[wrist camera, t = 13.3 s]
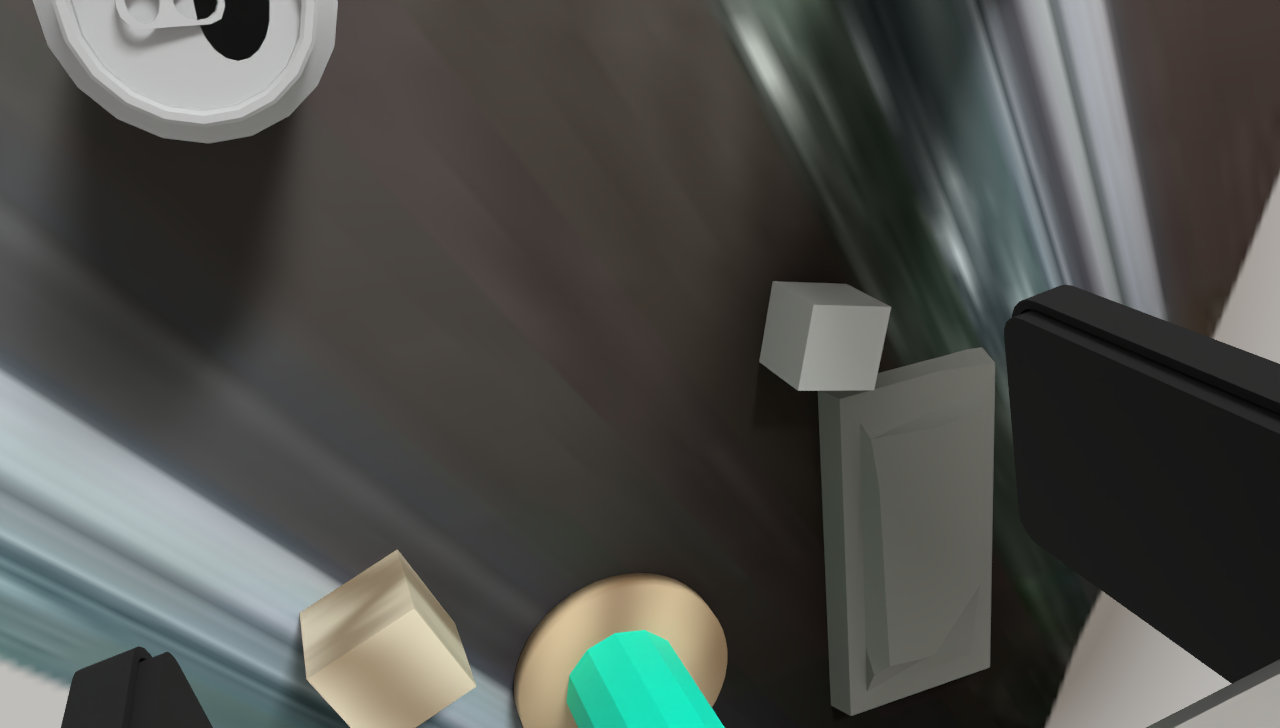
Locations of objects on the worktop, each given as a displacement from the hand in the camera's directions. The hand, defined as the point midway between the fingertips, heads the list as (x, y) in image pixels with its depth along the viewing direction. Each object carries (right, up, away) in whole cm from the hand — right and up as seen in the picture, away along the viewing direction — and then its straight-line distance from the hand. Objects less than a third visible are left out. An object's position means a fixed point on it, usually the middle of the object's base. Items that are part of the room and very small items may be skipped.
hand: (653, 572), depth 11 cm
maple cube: (-12, -9, +36) cm, 39 cm away
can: (-16, +15, +26) cm, 34 cm away
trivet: (-1, -13, +42) cm, 44 cm away
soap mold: (+14, -7, +47) cm, 49 cm away
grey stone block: (+8, +4, +39) cm, 40 cm away
